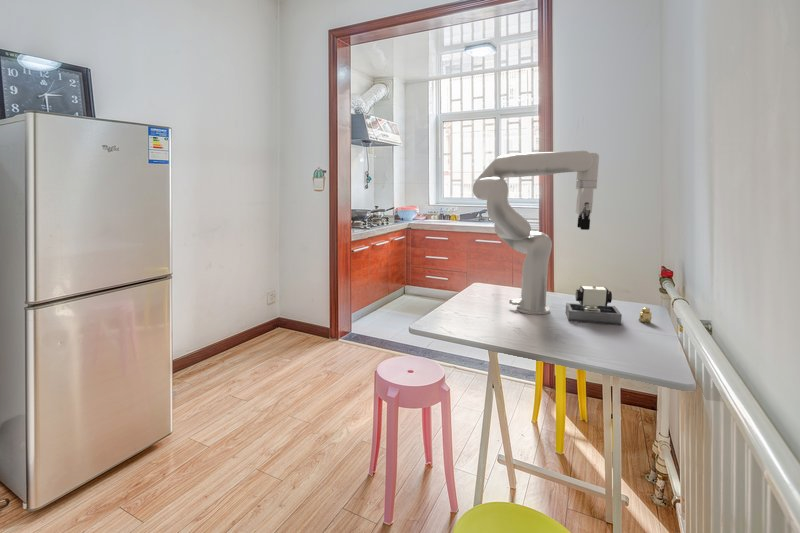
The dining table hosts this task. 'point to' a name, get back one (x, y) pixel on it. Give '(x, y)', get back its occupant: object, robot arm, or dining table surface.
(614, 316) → the gray rectangular tray
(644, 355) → the dining table surface
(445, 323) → the dining table surface
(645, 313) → the brass fitting
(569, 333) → the dining table surface
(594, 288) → the pneumatic valve
